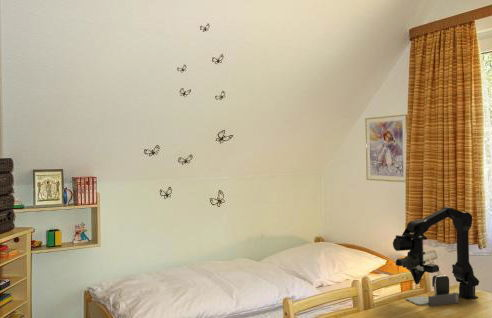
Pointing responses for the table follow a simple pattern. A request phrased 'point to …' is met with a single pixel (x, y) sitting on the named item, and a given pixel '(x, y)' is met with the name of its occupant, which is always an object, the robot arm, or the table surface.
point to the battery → (440, 284)
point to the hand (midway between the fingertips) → (417, 284)
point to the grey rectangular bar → (443, 299)
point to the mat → (419, 300)
